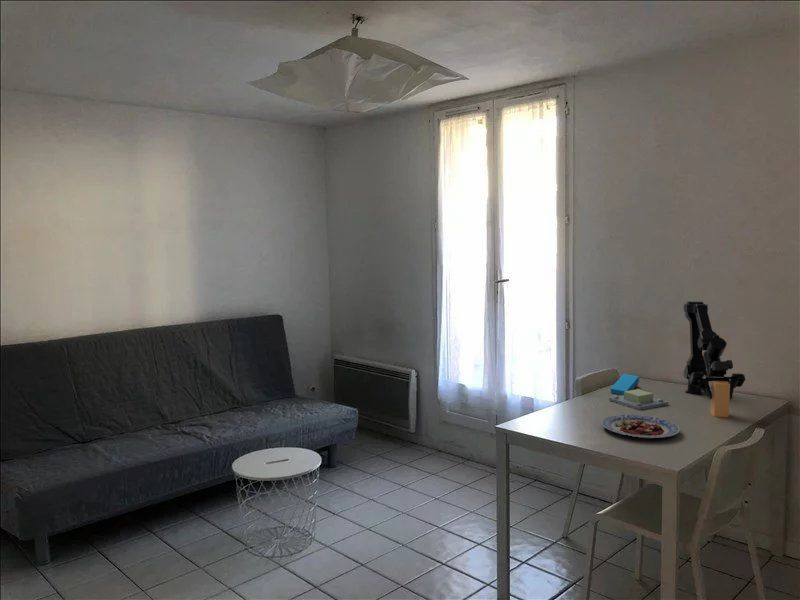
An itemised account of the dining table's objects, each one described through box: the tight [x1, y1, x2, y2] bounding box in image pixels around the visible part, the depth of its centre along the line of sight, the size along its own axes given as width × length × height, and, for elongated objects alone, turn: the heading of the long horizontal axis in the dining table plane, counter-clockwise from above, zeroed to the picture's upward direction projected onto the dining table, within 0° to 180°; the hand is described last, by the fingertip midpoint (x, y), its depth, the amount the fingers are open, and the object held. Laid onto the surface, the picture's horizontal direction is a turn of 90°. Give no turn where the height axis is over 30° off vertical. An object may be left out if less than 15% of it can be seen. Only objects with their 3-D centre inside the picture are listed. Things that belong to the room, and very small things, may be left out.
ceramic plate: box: [601, 414, 681, 439], centre depth 227 cm, size 26×26×3 cm
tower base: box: [608, 388, 669, 411], centre depth 262 cm, size 16×16×4 cm
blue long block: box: [610, 373, 640, 396], centre depth 282 cm, size 7×7×18 cm
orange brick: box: [709, 381, 730, 418], centre depth 244 cm, size 5×5×12 cm
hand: (721, 398), depth 242 cm, fingers open, 7 cm apart
